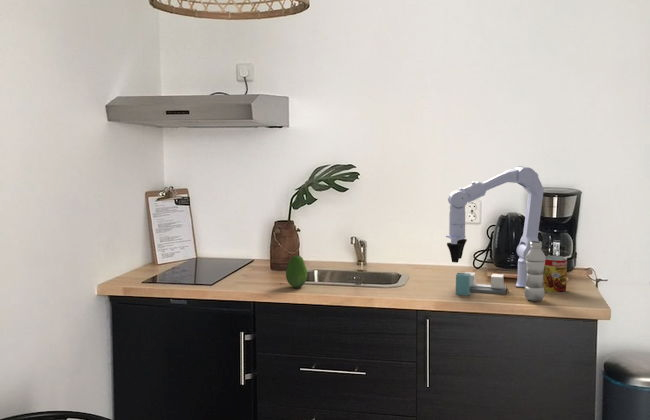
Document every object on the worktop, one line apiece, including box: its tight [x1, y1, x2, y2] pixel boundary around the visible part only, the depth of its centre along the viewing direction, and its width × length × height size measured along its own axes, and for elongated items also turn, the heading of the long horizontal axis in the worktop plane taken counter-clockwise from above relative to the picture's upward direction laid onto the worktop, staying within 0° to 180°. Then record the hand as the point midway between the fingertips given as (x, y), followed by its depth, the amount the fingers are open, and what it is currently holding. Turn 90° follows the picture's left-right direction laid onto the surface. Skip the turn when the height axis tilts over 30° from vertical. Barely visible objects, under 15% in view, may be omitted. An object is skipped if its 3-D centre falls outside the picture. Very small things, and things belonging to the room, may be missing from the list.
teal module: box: [455, 272, 471, 297], centre depth 221 cm, size 4×4×7 cm
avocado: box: [285, 255, 308, 289], centre depth 233 cm, size 8×8×12 cm
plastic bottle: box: [524, 241, 546, 302], centre depth 211 cm, size 6×7×20 cm
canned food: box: [543, 255, 568, 294], centre depth 224 cm, size 8×8×12 cm
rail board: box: [463, 271, 508, 295], centre depth 227 cm, size 16×9×6 cm, turn 70°
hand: (456, 260), depth 232 cm, fingers open, 7 cm apart
